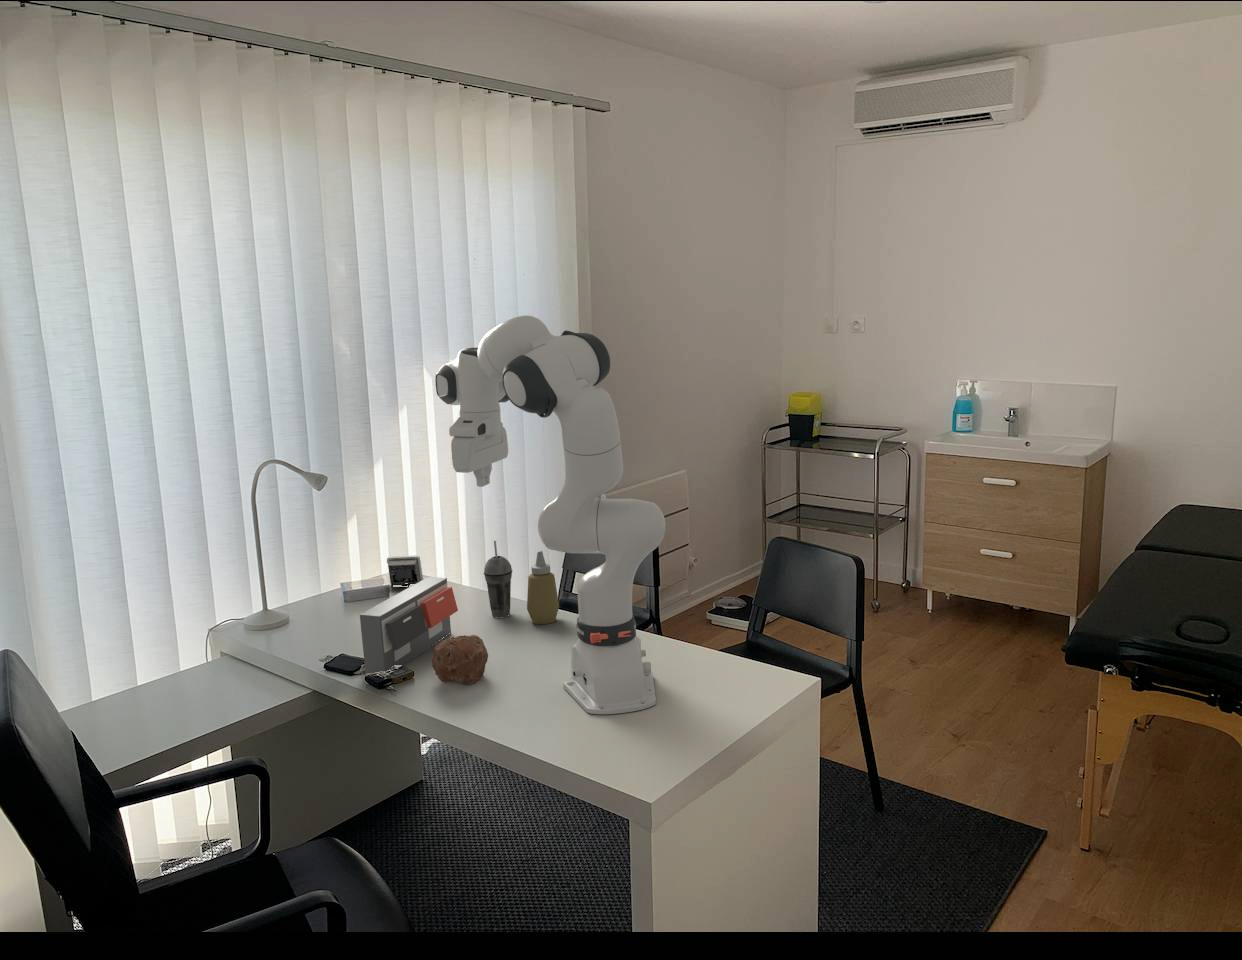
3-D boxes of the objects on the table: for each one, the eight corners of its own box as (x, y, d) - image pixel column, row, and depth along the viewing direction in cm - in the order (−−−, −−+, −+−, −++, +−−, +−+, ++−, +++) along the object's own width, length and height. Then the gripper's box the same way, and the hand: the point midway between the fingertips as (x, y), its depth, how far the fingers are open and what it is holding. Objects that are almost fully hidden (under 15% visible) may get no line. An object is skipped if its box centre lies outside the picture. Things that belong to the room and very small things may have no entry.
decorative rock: (454, 696, 189) (451, 650, 187) (419, 684, 196) (415, 639, 194) (501, 675, 199) (498, 631, 197) (465, 664, 206) (462, 621, 204)
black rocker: (427, 630, 210) (420, 605, 209) (397, 649, 199) (390, 623, 198) (422, 631, 210) (415, 606, 209) (392, 650, 199) (385, 624, 198)
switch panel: (451, 633, 226) (447, 578, 223) (386, 678, 200) (380, 616, 197) (433, 631, 227) (428, 576, 225) (365, 675, 202) (359, 614, 199)
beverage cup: (517, 610, 241) (513, 535, 237) (512, 619, 233) (506, 543, 230) (490, 610, 241) (485, 536, 238) (483, 620, 234) (478, 543, 230)
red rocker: (458, 610, 223) (452, 586, 222) (432, 627, 211) (425, 602, 211) (453, 611, 223) (447, 587, 222) (427, 628, 212) (420, 603, 211)
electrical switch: (424, 582, 268) (420, 552, 265) (421, 590, 263) (417, 559, 260) (391, 584, 268) (387, 554, 265) (387, 591, 263) (384, 561, 260)
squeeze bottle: (556, 627, 227) (552, 556, 224) (524, 626, 228) (519, 556, 225) (563, 615, 235) (559, 547, 232) (532, 615, 236) (528, 547, 233)
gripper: (488, 416, 213) (491, 475, 215) (444, 429, 194) (448, 494, 196) (513, 417, 211) (516, 477, 213) (471, 430, 192) (475, 495, 194)
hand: (483, 485), depth 205 cm, fingers closed
